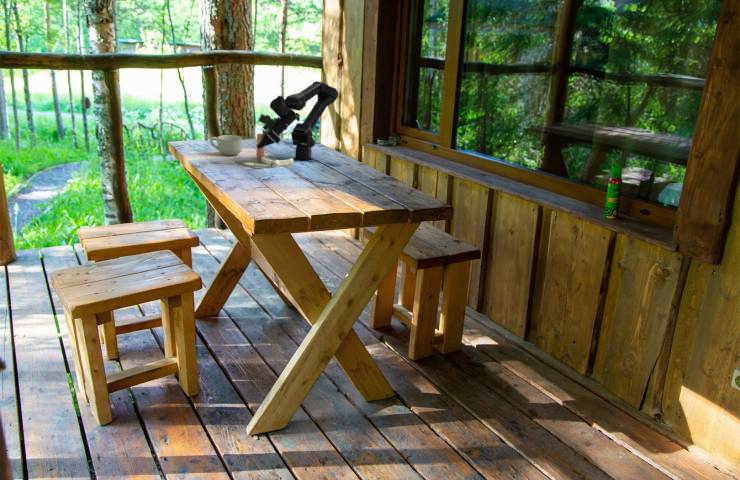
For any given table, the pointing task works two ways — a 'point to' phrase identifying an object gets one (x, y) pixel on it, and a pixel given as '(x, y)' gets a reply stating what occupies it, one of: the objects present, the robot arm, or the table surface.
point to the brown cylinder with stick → (262, 151)
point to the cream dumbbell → (283, 162)
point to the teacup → (228, 144)
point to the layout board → (259, 163)
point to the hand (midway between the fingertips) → (257, 147)
